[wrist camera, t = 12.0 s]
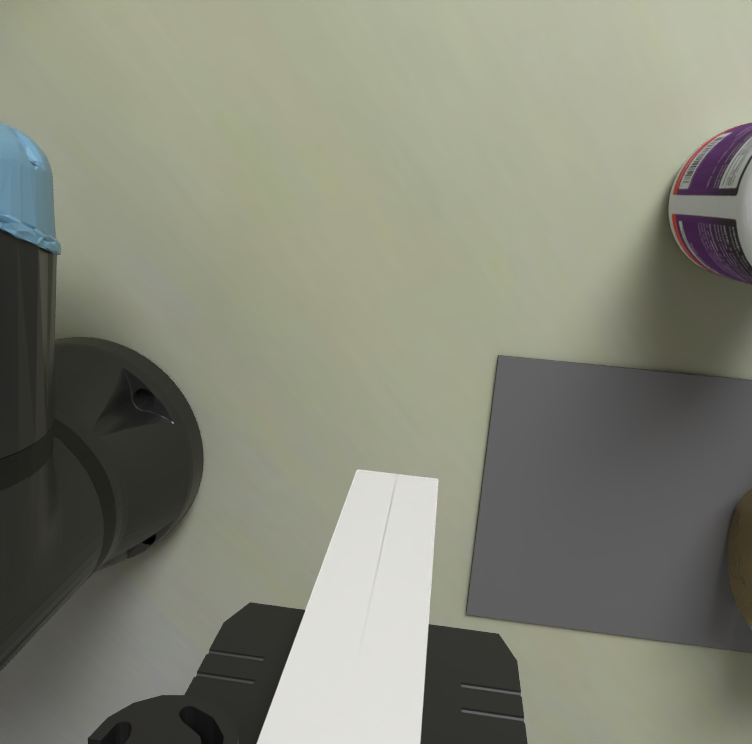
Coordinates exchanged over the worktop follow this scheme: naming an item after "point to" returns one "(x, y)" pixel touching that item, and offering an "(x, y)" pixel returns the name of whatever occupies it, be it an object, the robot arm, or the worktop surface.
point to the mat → (613, 501)
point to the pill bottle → (716, 205)
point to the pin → (741, 556)
